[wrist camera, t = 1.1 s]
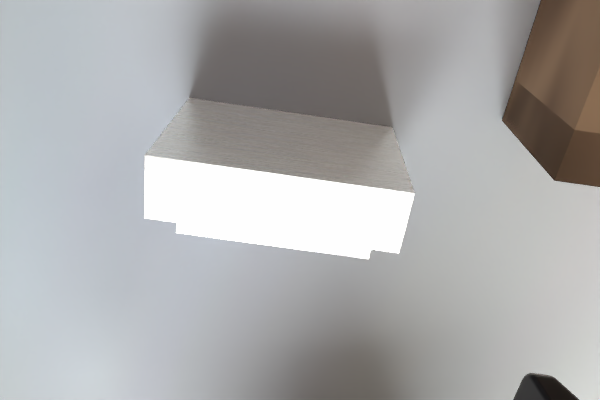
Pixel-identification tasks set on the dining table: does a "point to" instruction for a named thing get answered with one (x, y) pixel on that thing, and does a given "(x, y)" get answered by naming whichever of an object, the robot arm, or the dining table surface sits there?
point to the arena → (561, 91)
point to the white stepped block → (279, 179)
